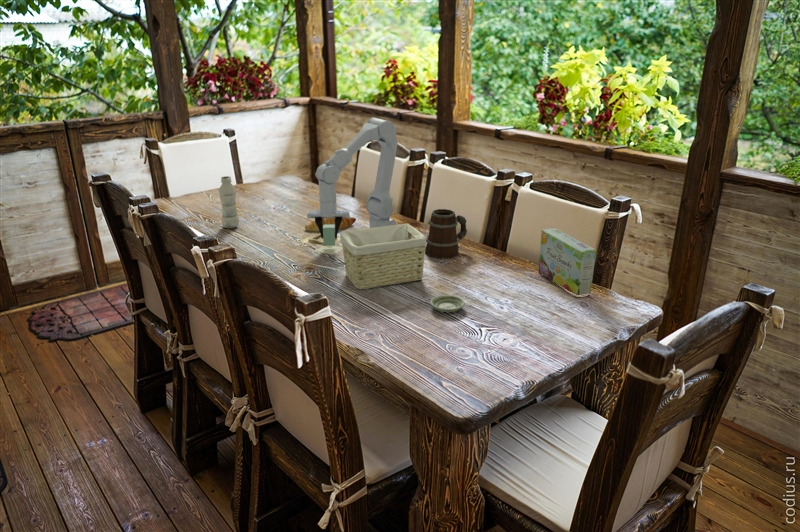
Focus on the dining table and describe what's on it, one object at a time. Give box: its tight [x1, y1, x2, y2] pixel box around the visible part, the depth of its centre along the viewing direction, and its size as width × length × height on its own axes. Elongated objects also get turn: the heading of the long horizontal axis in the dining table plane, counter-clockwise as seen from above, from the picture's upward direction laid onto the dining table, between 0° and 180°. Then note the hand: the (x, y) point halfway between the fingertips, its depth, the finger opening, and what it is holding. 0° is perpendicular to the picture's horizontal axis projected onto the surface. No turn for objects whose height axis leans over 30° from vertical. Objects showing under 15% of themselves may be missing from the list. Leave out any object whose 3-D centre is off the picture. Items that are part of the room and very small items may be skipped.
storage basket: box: [339, 223, 427, 291], centre depth 188 cm, size 24×16×15 cm
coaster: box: [314, 245, 343, 256], centre depth 213 cm, size 8×8×1 cm
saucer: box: [430, 294, 466, 313], centre depth 170 cm, size 10×10×2 cm
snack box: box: [538, 227, 597, 295], centre depth 184 cm, size 21×6×15 cm, turn 21°
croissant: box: [304, 216, 357, 232], centre depth 235 cm, size 21×10×8 cm, turn 119°
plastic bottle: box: [218, 176, 240, 229], centre depth 232 cm, size 6×7×20 cm
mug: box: [425, 208, 468, 260], centre depth 210 cm, size 16×12×15 cm
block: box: [323, 224, 336, 246], centre depth 211 cm, size 4×4×6 cm
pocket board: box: [298, 232, 342, 248], centre depth 221 cm, size 14×11×2 cm
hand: (329, 237), depth 211 cm, fingers closed on block, 4 cm apart
